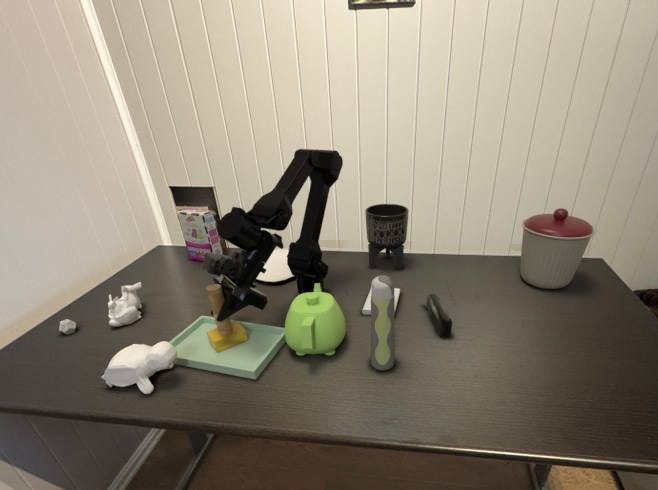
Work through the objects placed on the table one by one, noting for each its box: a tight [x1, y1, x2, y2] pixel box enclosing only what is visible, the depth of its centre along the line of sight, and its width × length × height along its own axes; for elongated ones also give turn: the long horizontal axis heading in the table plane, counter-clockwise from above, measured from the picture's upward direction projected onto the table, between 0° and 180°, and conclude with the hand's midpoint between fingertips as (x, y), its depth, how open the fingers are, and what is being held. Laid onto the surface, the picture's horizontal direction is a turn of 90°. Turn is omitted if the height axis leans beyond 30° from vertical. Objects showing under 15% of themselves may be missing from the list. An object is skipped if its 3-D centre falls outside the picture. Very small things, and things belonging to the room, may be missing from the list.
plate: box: [256, 248, 297, 283], centre depth 119 cm, size 22×22×2 cm
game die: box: [58, 318, 77, 335], centre depth 90 cm, size 4×4×3 cm
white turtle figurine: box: [100, 340, 178, 395], centre depth 73 cm, size 9×8×15 cm
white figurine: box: [107, 281, 143, 328], centre depth 93 cm, size 12×8×10 cm, turn 168°
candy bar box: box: [175, 208, 224, 262], centre depth 123 cm, size 11×5×16 cm, turn 68°
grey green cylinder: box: [370, 274, 395, 371], centre depth 73 cm, size 5×5×20 cm
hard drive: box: [361, 286, 401, 316], centre depth 99 cm, size 2×8×12 cm
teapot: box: [284, 283, 347, 356], centre depth 81 cm, size 20×13×13 cm
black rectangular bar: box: [424, 293, 453, 338], centre depth 90 cm, size 5×3×15 cm
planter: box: [364, 203, 410, 270], centre depth 116 cm, size 13×13×18 cm
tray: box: [168, 315, 287, 380], centre depth 83 cm, size 24×16×2 cm, turn 74°
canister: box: [519, 207, 597, 290], centre depth 103 cm, size 18×18×21 cm
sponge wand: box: [205, 283, 248, 353], centre depth 81 cm, size 7×5×14 cm
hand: (215, 317), depth 80 cm, fingers closed on sponge wand, 3 cm apart
